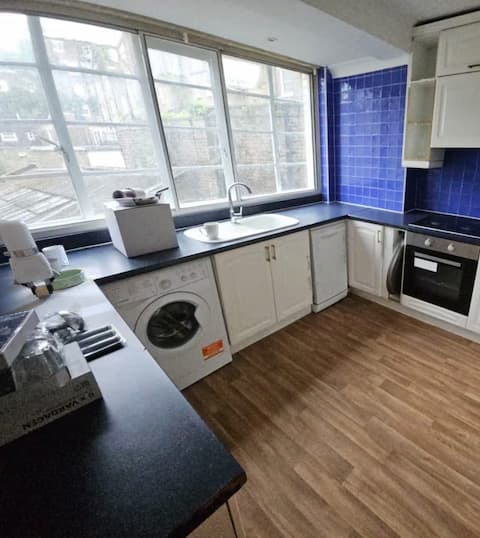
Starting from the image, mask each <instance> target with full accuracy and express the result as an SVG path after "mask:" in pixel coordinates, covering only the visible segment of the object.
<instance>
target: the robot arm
mask: <svg viewBox="0 0 480 538" xmlns="http://www.w3.org/2000/svg"><path fill="white" fill-rule="evenodd" d="M0 241H2V242H3V244H4V246H5V248H6V249H7V251H5V252H3V255H4V256H5V257H9V258H8V261H9V266H10V269H11V271H12V274H13V276H14V280H13V282H12V284H13V286H21V287H24V288H27V289H30V291H31V293H32V295H33V296H35V297H36V298H38V296H37V294H36V292H35V290H36V287H37V286H38V285H36V284H34V282H37V281H43V279H44V281H45V282H46V287H47V289H48V291H49V293H50V294H51V295H52V294H53V293H54V292H55V290H54V288H53V286H52V282H53V281H54V280H55V279H56V278H57V277H59V276H60V273H58V272H57V271H55V270H54V269H52V267H51V265H50V263H49V262H48V260H47V259H46V256H45V254H44V253H43V252H40V251H39V248H38V246H37V243H36V242H35V240H34V238H33V236H32V233H31V231H30V229H29V226H28V225H27V223H26V222H25V221H24V220H21V219H10V220H9V219H0ZM53 274H54V276H53ZM50 277H51V278H50ZM44 281H43V282H44Z"/></svg>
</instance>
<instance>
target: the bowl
mask: <svg viewBox="0 0 480 538" xmlns="http://www.w3.org/2000/svg"><path fill="white" fill-rule="evenodd" d="M58 273H60V276H59V277H57V278H56V279H55V280H54V281H53V282H52V286H53V288H54V291H57V290H65V289H69V288H72V287H71V286H73V287H75V286H74V285H76V284H78V285H80V284H82V283H84V282H85V281H86V280H87V277H86V274H85V272H84V270H83V269H81V268H73V269H72V268H71V269H66V270H61V272H58ZM53 276H54V274H53ZM50 278H51V277H50ZM84 280H85V281H84ZM42 281H43V283H44V284H46V282H45V281H44V279H42ZM83 281H84V282H83ZM81 282H82V283H81ZM79 283H80V284H79ZM76 286H77V285H76ZM68 287H69V288H68Z"/></svg>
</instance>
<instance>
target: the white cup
mask: <svg viewBox="0 0 480 538" xmlns="http://www.w3.org/2000/svg"><path fill="white" fill-rule="evenodd" d="M41 251H42V253H43V254H44V256H45V257H46V258H59V261H60V264H61V267H62V268H63V267H66V266H68V265H70V261H69V259H68V256H67V253H66V250H65V248H64V245H61V244H59V245H51V246H47V247H44V248H42V249H41Z"/></svg>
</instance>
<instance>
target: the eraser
mask: <svg viewBox="0 0 480 538" xmlns="http://www.w3.org/2000/svg"><path fill="white" fill-rule="evenodd" d="M36 286H37V287H36V290H35V292H36V294H37V296H38V297H37V298H38V300H42V299H48V298H51V296H52V294H50V293H49V291H48V289H47V287H46V284H45V283H44V284H38V285H36Z"/></svg>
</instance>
